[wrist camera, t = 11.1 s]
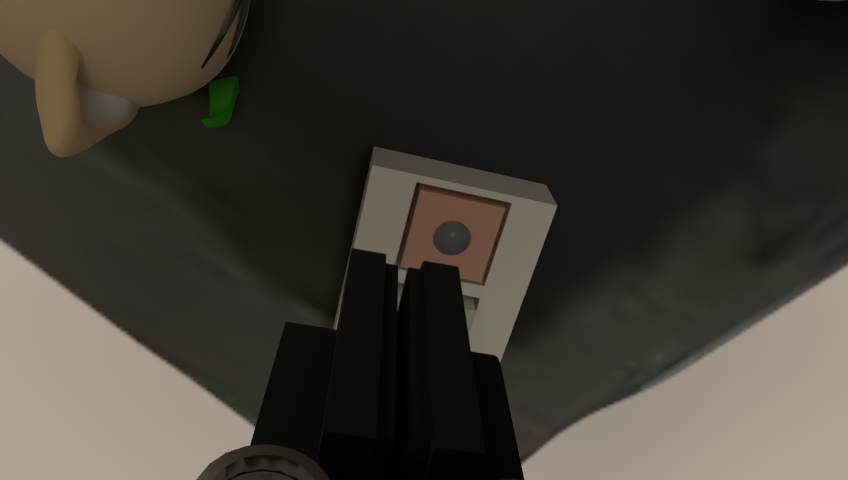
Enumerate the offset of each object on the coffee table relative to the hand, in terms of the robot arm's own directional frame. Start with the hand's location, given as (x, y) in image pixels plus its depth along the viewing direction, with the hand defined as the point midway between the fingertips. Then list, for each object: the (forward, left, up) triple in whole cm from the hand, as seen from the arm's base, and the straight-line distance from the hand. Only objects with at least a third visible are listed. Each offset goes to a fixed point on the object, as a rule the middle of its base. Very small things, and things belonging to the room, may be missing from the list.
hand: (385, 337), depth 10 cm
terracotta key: (-5, +9, -25) cm, 27 cm away
